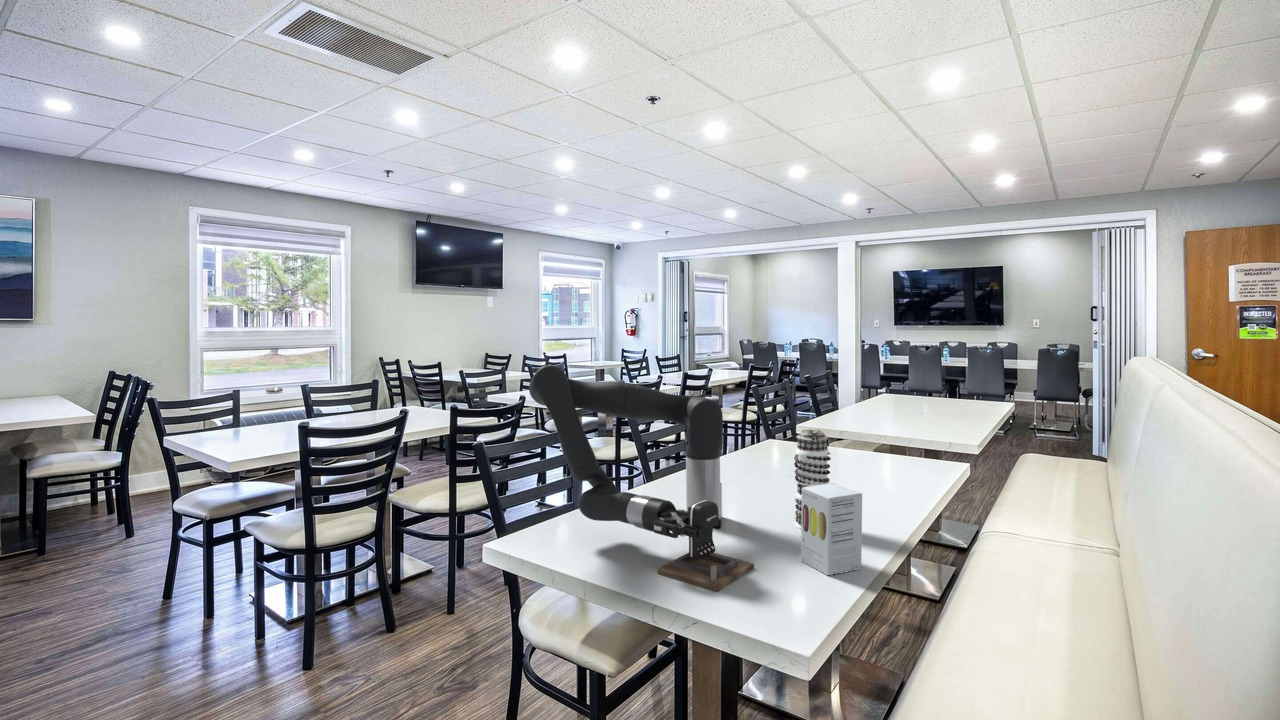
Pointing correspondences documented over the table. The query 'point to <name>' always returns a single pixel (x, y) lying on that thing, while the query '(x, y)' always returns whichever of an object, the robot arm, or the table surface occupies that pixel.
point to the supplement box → (831, 528)
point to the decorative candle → (810, 464)
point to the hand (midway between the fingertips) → (711, 529)
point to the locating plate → (706, 570)
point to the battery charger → (703, 528)
